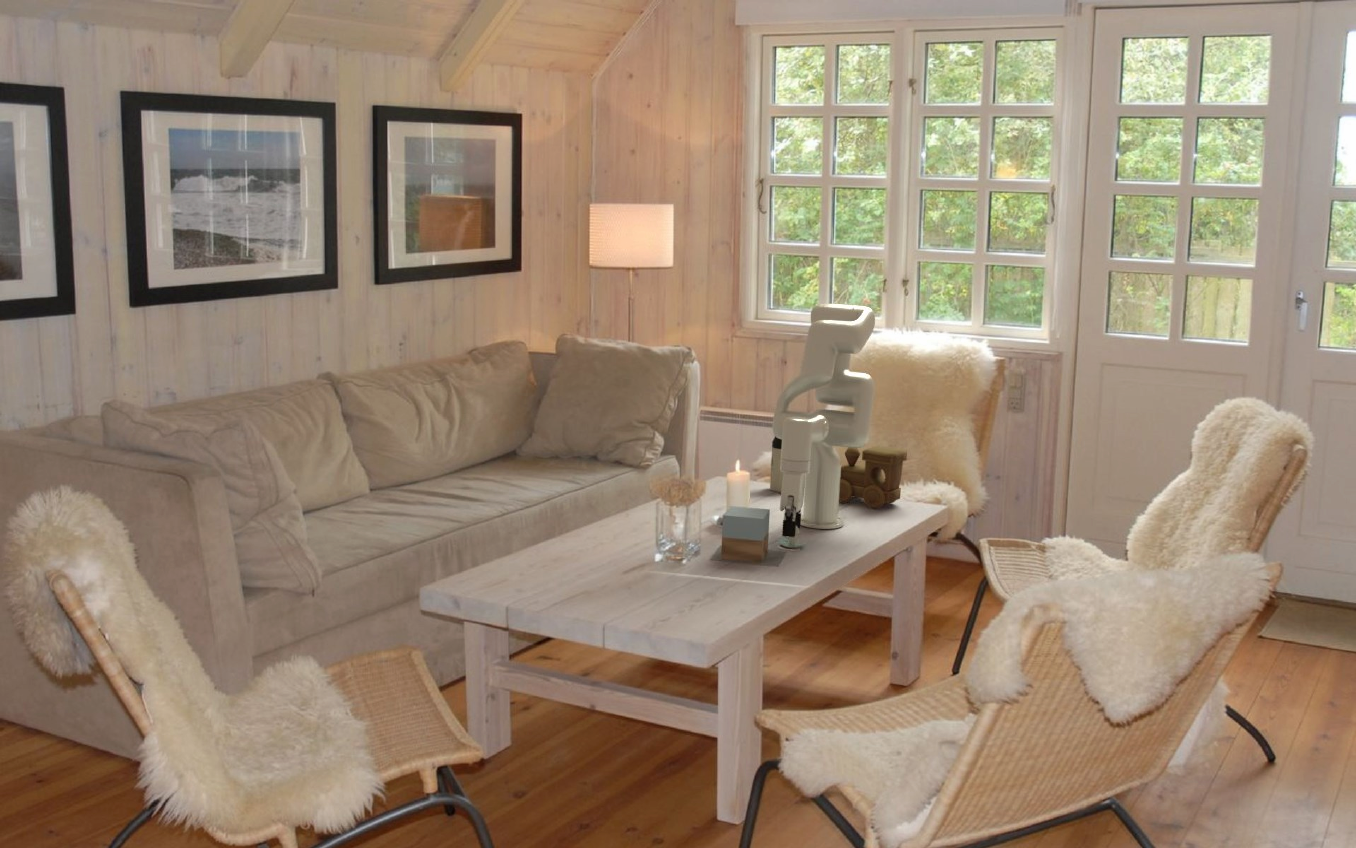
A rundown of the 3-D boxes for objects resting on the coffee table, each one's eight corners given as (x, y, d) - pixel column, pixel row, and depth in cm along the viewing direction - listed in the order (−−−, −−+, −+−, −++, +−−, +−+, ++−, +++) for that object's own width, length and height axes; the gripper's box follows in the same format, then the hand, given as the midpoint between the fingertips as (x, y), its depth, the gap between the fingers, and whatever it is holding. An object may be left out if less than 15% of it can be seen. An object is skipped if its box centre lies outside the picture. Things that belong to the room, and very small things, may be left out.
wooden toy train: (905, 505, 408) (909, 449, 405) (887, 512, 399) (891, 455, 396) (844, 494, 419) (847, 440, 416) (826, 501, 410) (829, 445, 407)
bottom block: (728, 548, 354) (729, 527, 353) (767, 552, 352) (768, 530, 351) (721, 558, 344) (721, 537, 343) (761, 562, 342) (762, 540, 341)
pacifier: (797, 555, 353) (808, 549, 358) (797, 531, 351) (809, 526, 356) (771, 550, 357) (783, 544, 362) (772, 526, 355) (784, 521, 360)
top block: (729, 527, 353) (730, 506, 352) (768, 530, 351) (769, 509, 350) (721, 537, 343) (722, 515, 342) (762, 540, 341) (763, 518, 340)
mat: (720, 547, 356) (720, 545, 356) (786, 553, 353) (786, 551, 353) (709, 562, 343) (709, 560, 343) (778, 568, 339) (778, 566, 339)
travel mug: (799, 488, 425) (802, 430, 421) (792, 494, 417) (795, 434, 414) (774, 485, 427) (777, 427, 424) (766, 491, 420) (769, 432, 417)
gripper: (785, 459, 362) (781, 523, 365) (775, 470, 346) (771, 538, 348) (814, 461, 361) (810, 526, 363) (805, 473, 344) (801, 541, 347)
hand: (791, 532), depth 356 cm, fingers open, 9 cm apart
